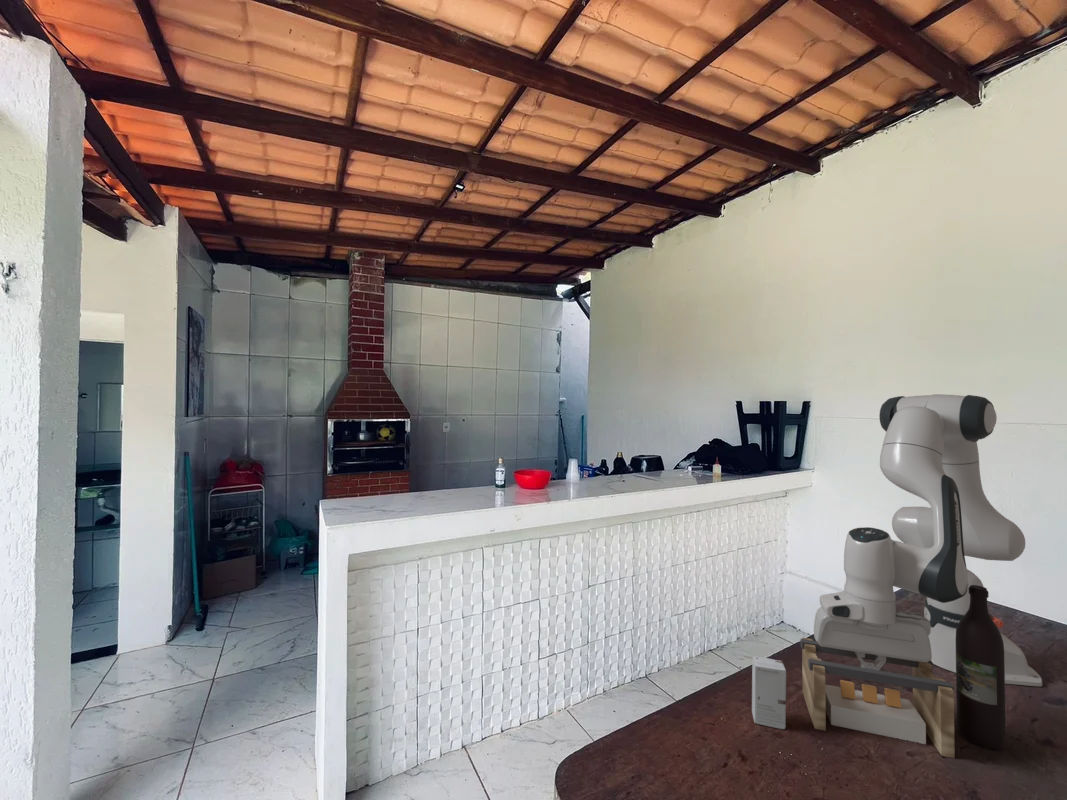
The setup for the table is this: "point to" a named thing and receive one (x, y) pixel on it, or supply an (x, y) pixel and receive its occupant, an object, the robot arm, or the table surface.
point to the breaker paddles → (870, 693)
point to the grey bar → (880, 676)
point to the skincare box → (769, 692)
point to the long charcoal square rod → (852, 654)
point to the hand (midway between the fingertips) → (870, 673)
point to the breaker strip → (874, 716)
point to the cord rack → (927, 703)
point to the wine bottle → (980, 675)
